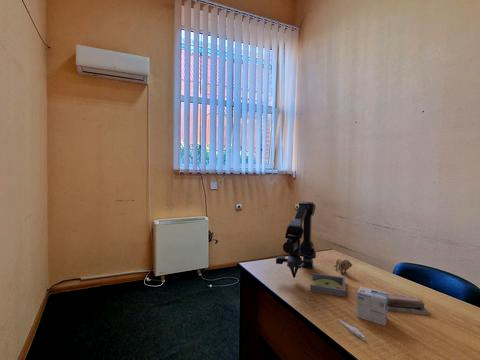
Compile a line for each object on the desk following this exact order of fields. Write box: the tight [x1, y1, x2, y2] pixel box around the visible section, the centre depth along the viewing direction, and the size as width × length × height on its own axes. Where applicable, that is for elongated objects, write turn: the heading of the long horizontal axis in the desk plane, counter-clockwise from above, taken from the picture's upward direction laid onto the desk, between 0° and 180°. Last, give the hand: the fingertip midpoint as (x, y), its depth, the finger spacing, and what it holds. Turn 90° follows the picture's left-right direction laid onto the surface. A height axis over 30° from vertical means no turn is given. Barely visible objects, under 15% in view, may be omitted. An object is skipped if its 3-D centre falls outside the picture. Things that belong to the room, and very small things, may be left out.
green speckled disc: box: [315, 279, 340, 289], centre depth 136 cm, size 11×11×2 cm
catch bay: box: [309, 272, 346, 298], centre depth 136 cm, size 16×16×3 cm
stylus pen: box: [335, 317, 367, 341], centre depth 101 cm, size 15×3×2 cm, turn 20°
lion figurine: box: [333, 258, 353, 276], centre depth 156 cm, size 15×5×9 cm, turn 14°
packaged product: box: [387, 293, 430, 316], centre depth 118 cm, size 18×5×10 cm
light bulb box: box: [355, 286, 389, 326], centre depth 109 cm, size 11×7×11 cm, turn 56°
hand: (294, 277), depth 142 cm, fingers closed
